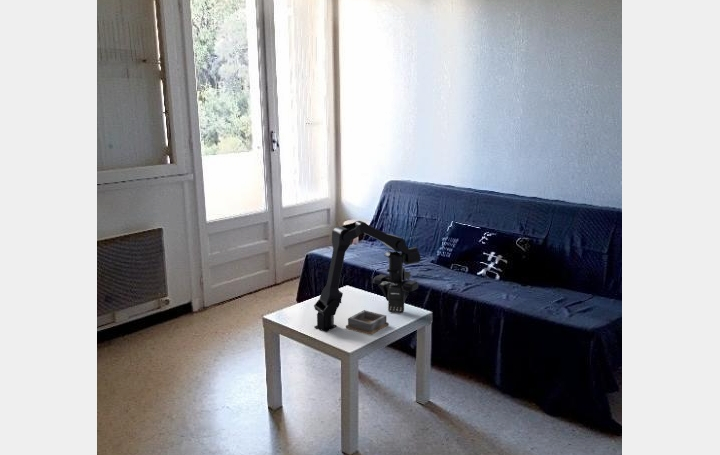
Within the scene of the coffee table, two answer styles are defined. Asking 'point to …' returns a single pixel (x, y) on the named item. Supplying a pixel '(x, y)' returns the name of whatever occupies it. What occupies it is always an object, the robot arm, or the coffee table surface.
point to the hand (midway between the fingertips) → (395, 302)
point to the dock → (367, 322)
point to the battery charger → (395, 299)
